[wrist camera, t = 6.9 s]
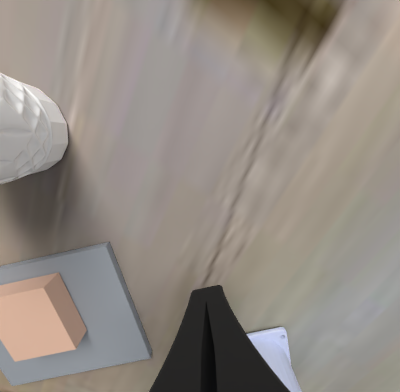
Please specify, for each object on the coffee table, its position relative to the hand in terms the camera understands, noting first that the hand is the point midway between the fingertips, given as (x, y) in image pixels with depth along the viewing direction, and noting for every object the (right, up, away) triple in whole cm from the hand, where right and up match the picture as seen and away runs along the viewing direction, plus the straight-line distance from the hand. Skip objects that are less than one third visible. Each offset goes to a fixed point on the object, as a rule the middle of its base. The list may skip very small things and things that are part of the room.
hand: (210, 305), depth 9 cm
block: (-13, -6, +10) cm, 17 cm away
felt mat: (-15, -8, +12) cm, 21 cm away
